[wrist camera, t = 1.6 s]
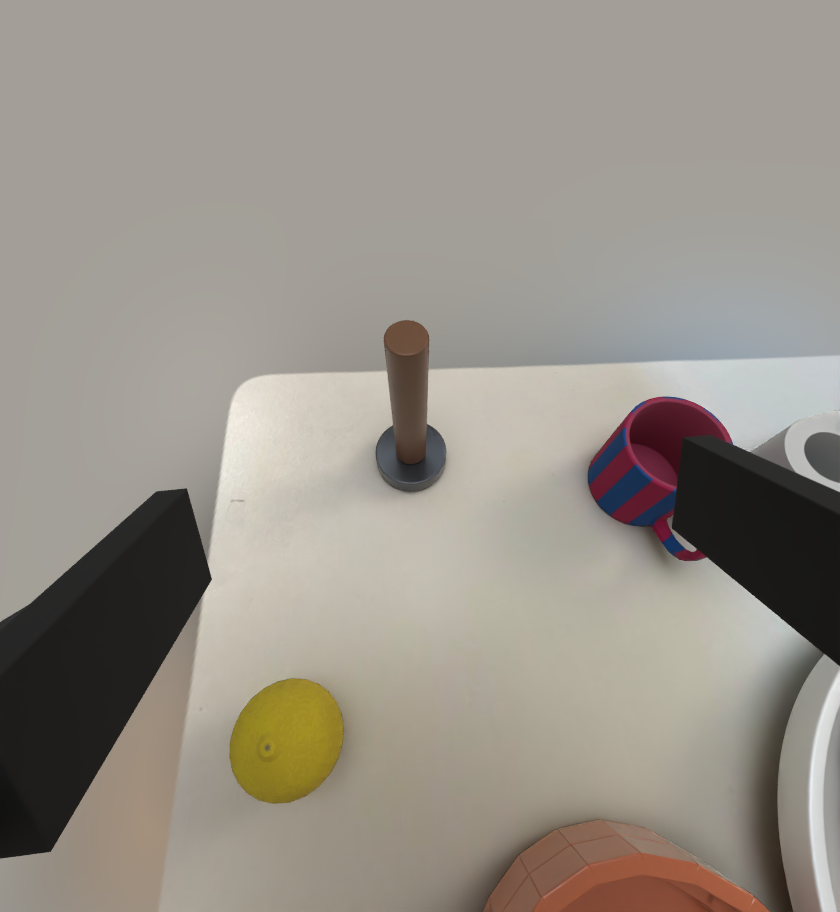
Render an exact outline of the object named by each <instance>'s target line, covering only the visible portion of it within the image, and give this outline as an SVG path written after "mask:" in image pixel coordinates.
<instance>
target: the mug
mask: <svg viewBox="0 0 840 912" xmlns="http://www.w3.org/2000/svg"><path fill="white" fill-rule="evenodd" d="M703 435H712V436H714V437H716V438H719V439H721V440H723V441H725V442H728V443H730V444H732V445H733V443H732V440H731V438H730V435H729V434H728V432H727V430H726V429H725V427H724V426H723V425H722V423H721V422H720V421H719V420H718V419H717V418H716V417H715V416H714V415H713V414H712V413H710V412H709V411H708V410H706V409H705V408H703V407H701V406H699V405H698V404H696V403H694V402H691V401H688V400H685V399H681V398H676V397H656V398H652V399H649V400H646V401H644V402H642V403H640V404H639V405H637V406H636V407H635V408H634V409H633V410H632V411H631V412H630V413H629V414H628V416H627V417H626V418H625V419H624V421H623V422H622V423H621V424H620V426H619V427H618V428H617V429H616V430H615V432H614V433H613V434H612V435H611V437H610V438H609V439H608V440H607V442H606V443H605V444H604V445H603V446H602V448H601V449H600V450H599V451H598V453H597V454H596V455H595V456H594V458H593V460H592V461H591V464H590V467H589V471H588V483H589V487H590V490H591V492H592V495H593V497H594V498H595V500H596V501H597V503H598V504H599V505H600V507H601V508H602V509H603V510H604V511H605V512H607V513H608V514H609V515H610V516H612V517H613V518H615V519H617V520H619V521H621V522H623V523H626V524H630V525H634V526H652V528H653V530H654V532H655V533H656V535H657V537H658V538H659V540H660V541H661V543H662V544H663V545H664V547H665V548H666V549H667V550H668V551H669V552H670V553H671V554H672V555H673V556H675V557H676V558H678V559H679V560H683V561H698V560H700V559H703V558H706V556H705V555H704V554H703V553H701V552H700V551H699V550H698V549H697V550H696V551H695V552H690V551H688V550H686V549H685V548H684V547H683V546H682V545H681V544H680V543H679V542H678V541H677V540H676V539H675V537H674V535H673V534H672V532H671V530H670V528H669V526H668V523H667V519H668V518H670V517H671V516H673V514H674V506H675V497H676V489H677V480H678V472H679V464H680V455H681V447H682V438H683V437H693V436H703Z"/></svg>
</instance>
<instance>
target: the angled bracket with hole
mask: <svg viewBox="0 0 840 912" xmlns="http://www.w3.org/2000/svg"><path fill="white" fill-rule="evenodd" d="M750 453H753V454H755V455H757V456H759V457H762V458H764V459H766V460H768V461H771V462H773V463H775V464H777V465H780V466H782V467H784V468H787V469H789V470H791V471H793V472H796V473H798V474H800V475H802V476H805V477H807V478H809V479H811V480H814V481H816V482H818V483H820V484H823V485H825V486H827V487H830V488H832V489H834V490H836V491H839V492H840V410H836V411H832V412H827V413H823V414H819V415H815V416H810V417H806V418H803V419H800V420H798V421H797V422H795V423H794V424H792V425H791V426H789V427H788V428H786V429H785V430H783V431H782V432H780V433H779V434H777V435H776V436H774V437H773V438H771V439H770V440H768V441H767V442H765V443H764V444H762V445H761V446H759V447H758V448H756V449H755V450H753V451H752V452H750Z"/></svg>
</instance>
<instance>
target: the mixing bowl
mask: <svg viewBox="0 0 840 912" xmlns="http://www.w3.org/2000/svg"><path fill="white" fill-rule="evenodd" d="M484 912H770V911H769V910H768V909H767V908H766V907H765V906H764V905H763V904H762V903H761V902H760V901H759V900H758V899H757V898H756V897H755V896H753V895H752V894H751V893H749V892H748V891H746V890H745V889H743V888H742V887H740V886H739V885H737V884H736V883H734V882H733V881H731V880H730V879H728V878H727V877H725V876H724V875H722V874H721V873H719V872H718V871H716V870H715V869H714V868H712V867H711V866H709V865H708V864H706V863H705V862H703V861H702V860H700V859H699V858H697V857H696V856H694V855H693V854H691V853H689V852H688V851H686V850H684V849H682V848H681V847H679V846H677V845H675V844H674V843H672V842H670V841H668V840H667V839H665V838H663V837H661V836H660V835H658V834H656V833H654V832H652V831H651V830H649V829H646V828H644V827H638V826H633V825H627V824H622V823H617V822H611V821H606V820H595V821H591V822H586V823H581V824H576V825H572V826H567V827H562V828H558V829H555V830H554V831H553V832H551V833H550V834H548V835H547V836H545V837H544V838H542V839H541V840H539V841H538V842H537V843H535V844H534V845H532V846H531V847H529V848H528V849H526V850H525V851H523V852H522V853H521V854H519V856H518V857H517V858H516V859H515V861H514V862H513V864H512V865H511V866H510V868H509V869H508V871H507V872H506V873H505V875H504V876H503V878H502V879H501V881H500V882H499V883H498V885H497V886H496V888H495V889H494V890H493V892H492V893H491V895H490V896H489V899H488V900H487V903H486V906H485V909H484Z"/></svg>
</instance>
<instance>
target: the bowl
mask: <svg viewBox="0 0 840 912" xmlns="http://www.w3.org/2000/svg"><path fill="white" fill-rule="evenodd" d="M778 824H779V836H780V845H781V853H782V860H783V866H784V871H785V877H786V882H787V887H788V891H789V895H790V900H791V904H792V908H793V912H840V666H839V665H837V664H836V663H835V662H834V661H832V660H831V659H830V658H829V657H828V656H826V655H825V654H824V655H823V656H822V657H821V659H820V660H819V661H818V663H817V664H816V665H815V667H814V668H813V669H812V671H811V673H810V674H809V676H808V677H807V679H806V681H805V682H804V684H803V686H802V688H801V690H800V692H799V694H798V697H797V699H796V701H795V704H794V706H793V709H792V711H791V715H790V718H789V721H788V724H787V727H786V732H785V736H784V740H783V745H782V751H781V757H780V765H779V775H778Z"/></svg>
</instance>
